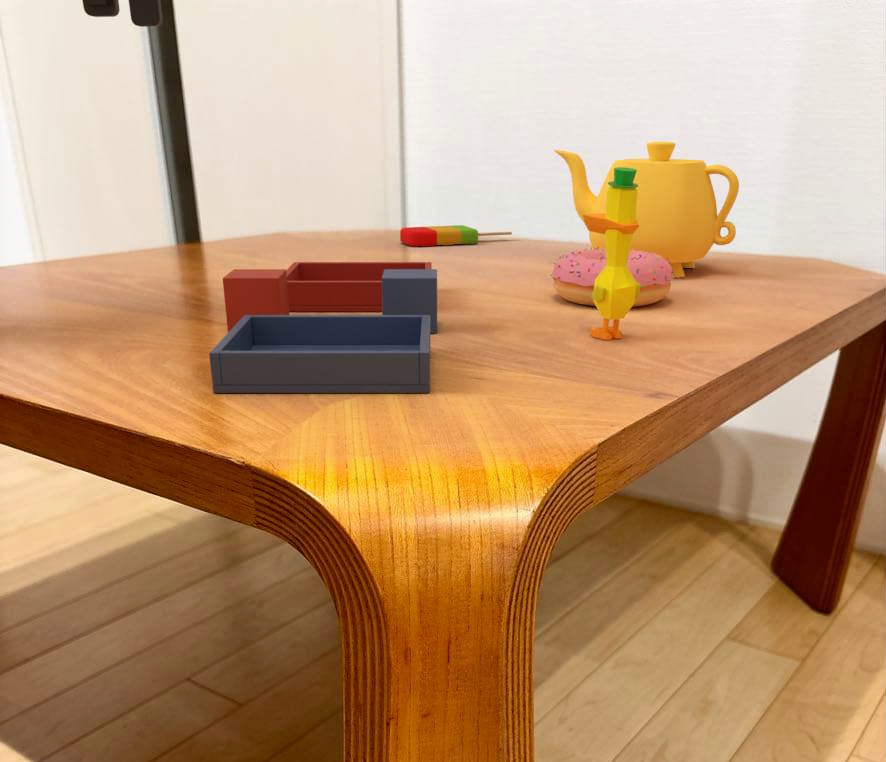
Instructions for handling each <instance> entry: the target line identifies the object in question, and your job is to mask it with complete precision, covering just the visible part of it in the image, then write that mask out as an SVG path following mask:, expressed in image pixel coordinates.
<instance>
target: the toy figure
mask: <svg viewBox="0 0 886 762" xmlns="http://www.w3.org/2000/svg"><path fill="white" fill-rule="evenodd" d="M636 172H637V170H635V169H632V168H623V167H618V168H614V181H611V182H608V185H611V187H610V188H609V189H608V190H607V202H606V214H587V215H583V217H584V222H583V223H584V225H585V227H586V229H587V230H588V232H589V231H592V232H596V233H601V234H605V245H606V266H605V267H604V269H603V270H602V271H601V273H600V274H599V275H598V276H597V278H596V279H595V283H594V291H593V293H592V297H591V298H593V301H594V303H595V305H596V306H595V308H596V309H597V311H598V312H599V315H600V316H601V318H602V319H603V320H602V326H601V327H593V328H591V329H590V336H591V337H593V338H596V339H601V340H605V341H609V340H612V339H615V340H617V339H622V338H623V334H622V333H621V331H620V328H619V327H620V320H622V319H624V318H625V317H626V316H627V314H628V313H629V312H630V310H631V309H632V306H633V305H634V302H635V298H637V297H638V296H639V291H640V286H641V285H640V284H639V283H637V282H636V281H635V279H634V278H633V276H632V274H631V272H630V271H629V269H628V267H627V262H628V257H629V252H630V247H631V242H632V237H633V233H634V232H635V231H636V230H637V229H638V228H639V224H638V222H637V221H636V219H635V217H636V205H637V193H638V190H637V189H636V187H638V184H635V183H633V181H634V178H635V175H636ZM610 320H613V323H612V324H613V325H612V326H611V325H610V323H609V322H610Z"/></svg>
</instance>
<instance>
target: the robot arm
mask: <svg viewBox="0 0 886 762" xmlns="http://www.w3.org/2000/svg"><path fill="white" fill-rule="evenodd" d="M119 2H120V1H119V0H82V6H83V10H84V13H86V14H87V16H90V17H93V18H110V17H111V18H114V17H117V16H118V15H119V13H120V3H119ZM128 6H129V12H130V20H131V23H132V24H133V25H134V26H137V27H140V28H141V27H142V28H143V27H145V28H146V27H147V28H149V27H160V26H162V24H163V20H164V18H163V10H162V2H161V0H128Z"/></svg>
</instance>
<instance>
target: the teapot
mask: <svg viewBox="0 0 886 762" xmlns="http://www.w3.org/2000/svg"><path fill="white" fill-rule="evenodd" d="M675 148H676V143H675V142H673V141H650V142H647V143H646V149H647V154H648V157H649V158H623V159H617V160H614V162H613V163H612V164H611V166H610V168H609V169H608V171H607V173H606V177H605V178H604V181H603V183H602V185H601V187H600V190H599V192H598V195H595V194H594V193H593V192H592V191H591V188H590V186H589V183H588V179H587V170H586V166H585V163H584V161H583V159H582V158H581V156H580V155H579V154H577V153H575V152H571V151H565V150H560V149H553V151H554V152H555V153H556V154H558V155H559V156H560V157H561V158H562V159H563V160H564V162H565V163H566V164H567V166H568V169H569V172H570V176H571V185H572V196H573V197H572V198H573V204H574V207H575V212H576V213H577V215H578V217H579V218H580V220H581V221H582V223H584V217H583V215H587V214H606V202H607V190H608V189H609V188H610V187H611V185H608V182H611V181H614V168H618V167H623V168H632V169H635V170H637V172H636V175H635V178H634V181H633V183H635V184H638V187H636V189H637V190H638V193H637V205H636V217H635V219H636V221H637V222H638V224H639V228H638V229H637V230H636V231H635V232H634V233H633V237H632V242H631V247H630V250H635V251H643V252H648V251H649V253H654V254H655V252H656V254H657V255H659V256H661V257H663V258H664V259H665V260H666V259H667V258H668V259H667V261H668V262H669V263H670V266H672V267H671V268H672V270H673V272H674V273H673V275H675V276H674V278H684V277H686V273H685V271H684V269H683V268H693V269H695V268H696V265H695V264H694V261H698V260H701V259H703V258H705V257H706V255H707V254H708V253H709V251H710V250H711V249H712V247H713V245H714V244H715V245H716V246H726V245H729V244H731V243H732V242H733V241H734V240H735V238H736V234H737V229H736V225H735V224H734V223H733V222H731V221H727V218H728V216H729V214H730V212H731V210H732V208H733V207H734V205H735V202H736V199H737V197H738V194H739V191H740V189H739V188H740V181H739V178H738V175H737V174H736V173H735V171H733V170H732V169H730V168H729V167H728V166H725V165H722V164H711V165H708V166H707V164H706V162H705V160H702V159H688V158H687V159H685V158H671V157H672V155H673V152H674V150H675ZM710 175H720V176H722V177H725V179H727V181H728V184H729V188H728V192H727V196H726V198H725V200H724V203H723V205H722V207H721V209H720V211H719V213H718V206H717V200H716V195H715V191H714V187H713V183H712V179H711V176H710ZM722 228H723V229H724V228H726V229H727V232H728V233H727V235H725V236H722V235H721V230H722ZM588 237H589V242H590V244H591V246H592V250H593V249H595V248H596V249H597V247H599V248H600V249H606V245H605V234H601V233H596V232H592V231H589V230H588ZM599 248H598V249H599Z"/></svg>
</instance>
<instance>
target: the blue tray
mask: <svg viewBox="0 0 886 762" xmlns="http://www.w3.org/2000/svg"><path fill="white" fill-rule="evenodd" d="M208 357H209V366H210V372H211V373H210V374H211V383H212V392H213V394H429V393H430V392H431V390H430V389H431V333H430V315H383V314H289V315H253V316H252V315H244V316H243V317H242V318H241V319H240V321H239V322H238V323H237V324H236V325H235V326H234V327H233V328H232V329H231V330H230V331H229V332H228V331H227V333H226V334H225V335H224V336H223V338H222V339H221V340H219V342H218V343H217V344H216V345H215V346H214V347H213V348H212V349H211V350H210V351H209V353H208Z"/></svg>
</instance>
